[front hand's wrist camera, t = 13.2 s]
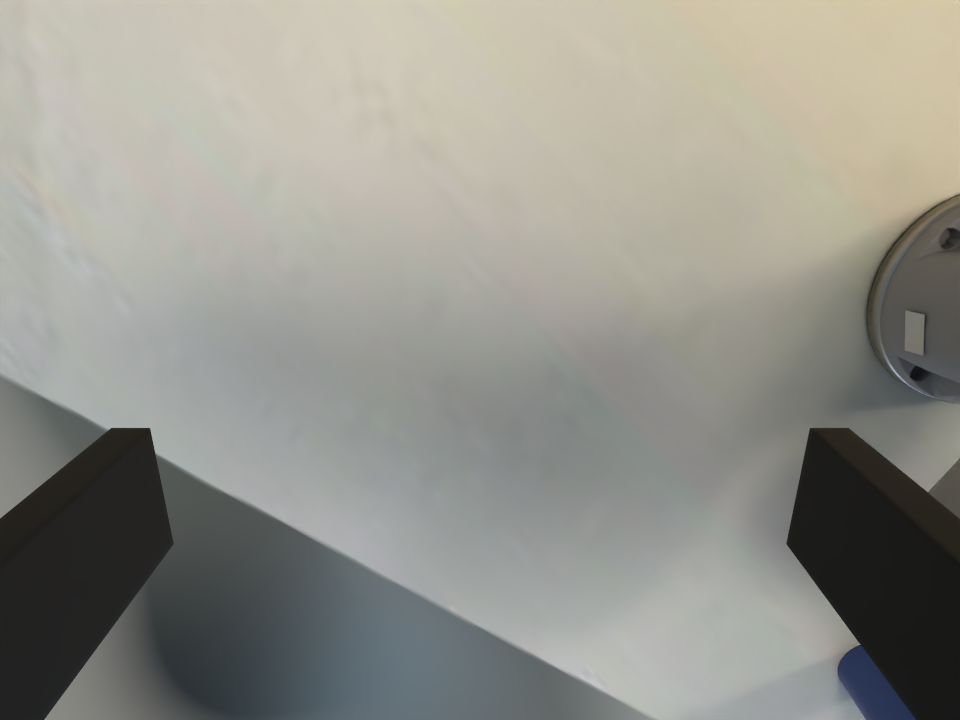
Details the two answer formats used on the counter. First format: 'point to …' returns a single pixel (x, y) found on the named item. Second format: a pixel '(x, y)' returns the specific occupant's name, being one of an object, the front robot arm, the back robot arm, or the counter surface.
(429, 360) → the counter surface
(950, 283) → the front robot arm
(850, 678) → the can
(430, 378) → the counter surface
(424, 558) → the counter surface
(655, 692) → the counter surface
